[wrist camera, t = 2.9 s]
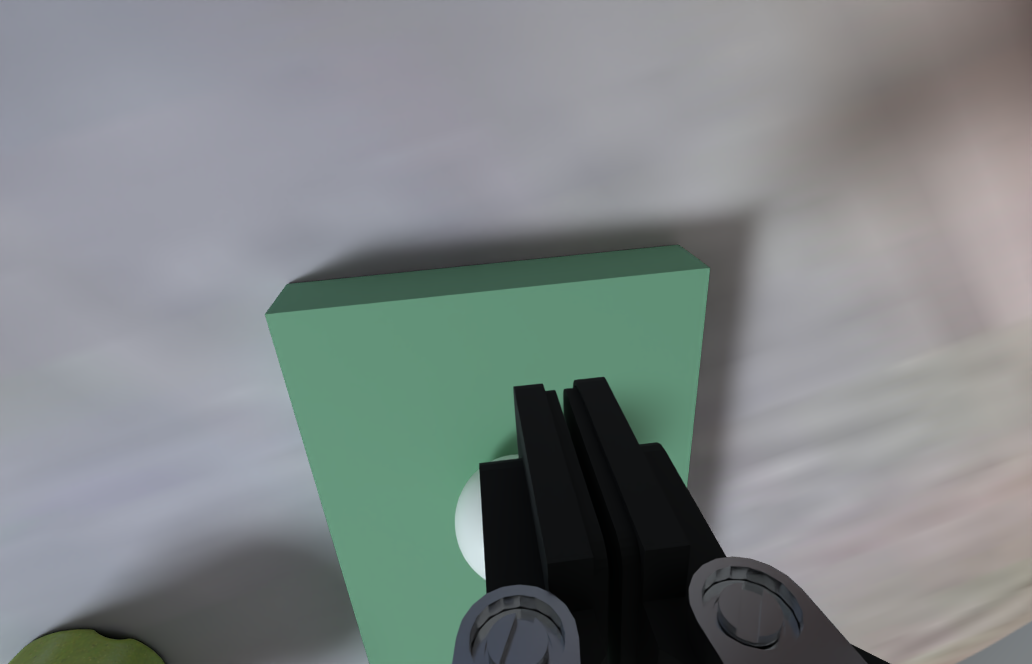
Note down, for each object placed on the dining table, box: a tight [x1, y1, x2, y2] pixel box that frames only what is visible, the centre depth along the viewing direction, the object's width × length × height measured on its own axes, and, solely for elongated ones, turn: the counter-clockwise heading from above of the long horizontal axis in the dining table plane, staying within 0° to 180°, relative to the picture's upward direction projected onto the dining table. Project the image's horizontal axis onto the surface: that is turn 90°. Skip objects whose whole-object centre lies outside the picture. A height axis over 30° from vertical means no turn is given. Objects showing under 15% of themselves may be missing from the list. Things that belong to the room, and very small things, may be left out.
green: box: [265, 245, 710, 664], centre depth 22 cm, size 28×13×4 cm, turn 3°
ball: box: [455, 454, 518, 580], centre depth 17 cm, size 4×4×4 cm
